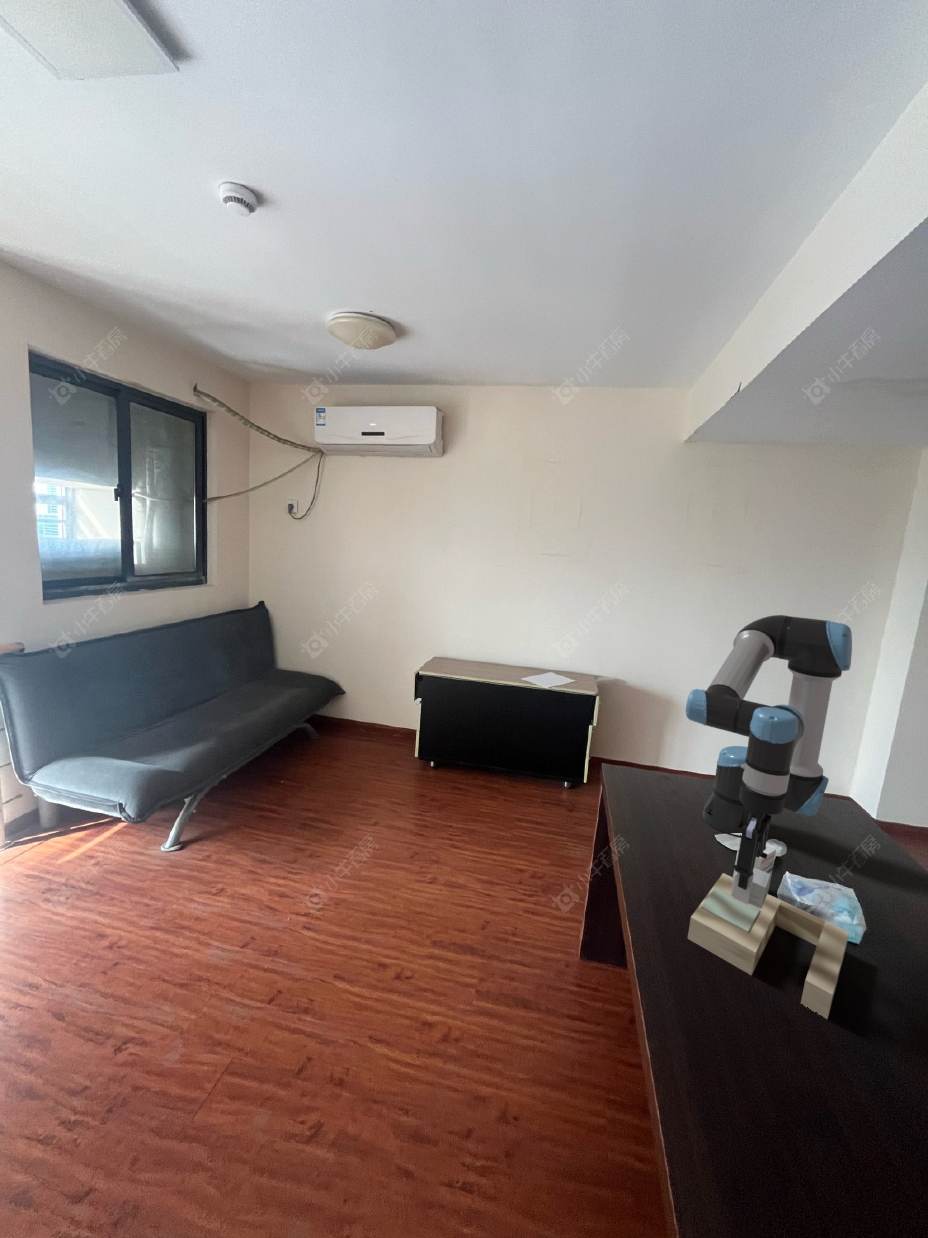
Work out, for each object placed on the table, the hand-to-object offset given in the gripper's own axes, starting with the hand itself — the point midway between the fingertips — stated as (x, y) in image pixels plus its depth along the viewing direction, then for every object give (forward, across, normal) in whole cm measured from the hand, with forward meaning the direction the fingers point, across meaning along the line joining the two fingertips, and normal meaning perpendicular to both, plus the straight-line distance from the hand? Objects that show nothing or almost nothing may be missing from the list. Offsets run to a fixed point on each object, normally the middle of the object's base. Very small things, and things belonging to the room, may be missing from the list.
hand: (745, 892), depth 102 cm
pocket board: (+12, -3, +5) cm, 13 cm away
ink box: (+12, -19, -2) cm, 23 cm away
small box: (+1, 0, +1) cm, 1 cm away
